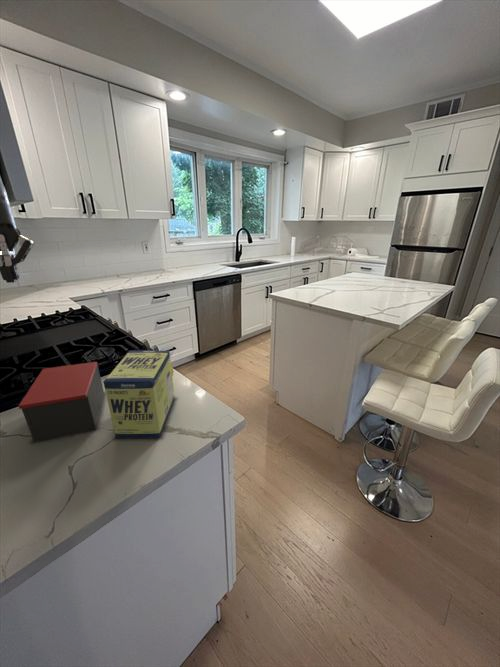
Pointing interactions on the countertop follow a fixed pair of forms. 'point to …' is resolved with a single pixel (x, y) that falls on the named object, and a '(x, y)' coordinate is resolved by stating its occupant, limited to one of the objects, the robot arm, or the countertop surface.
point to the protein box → (140, 394)
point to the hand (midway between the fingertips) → (12, 281)
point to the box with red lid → (66, 414)
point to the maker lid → (60, 385)
